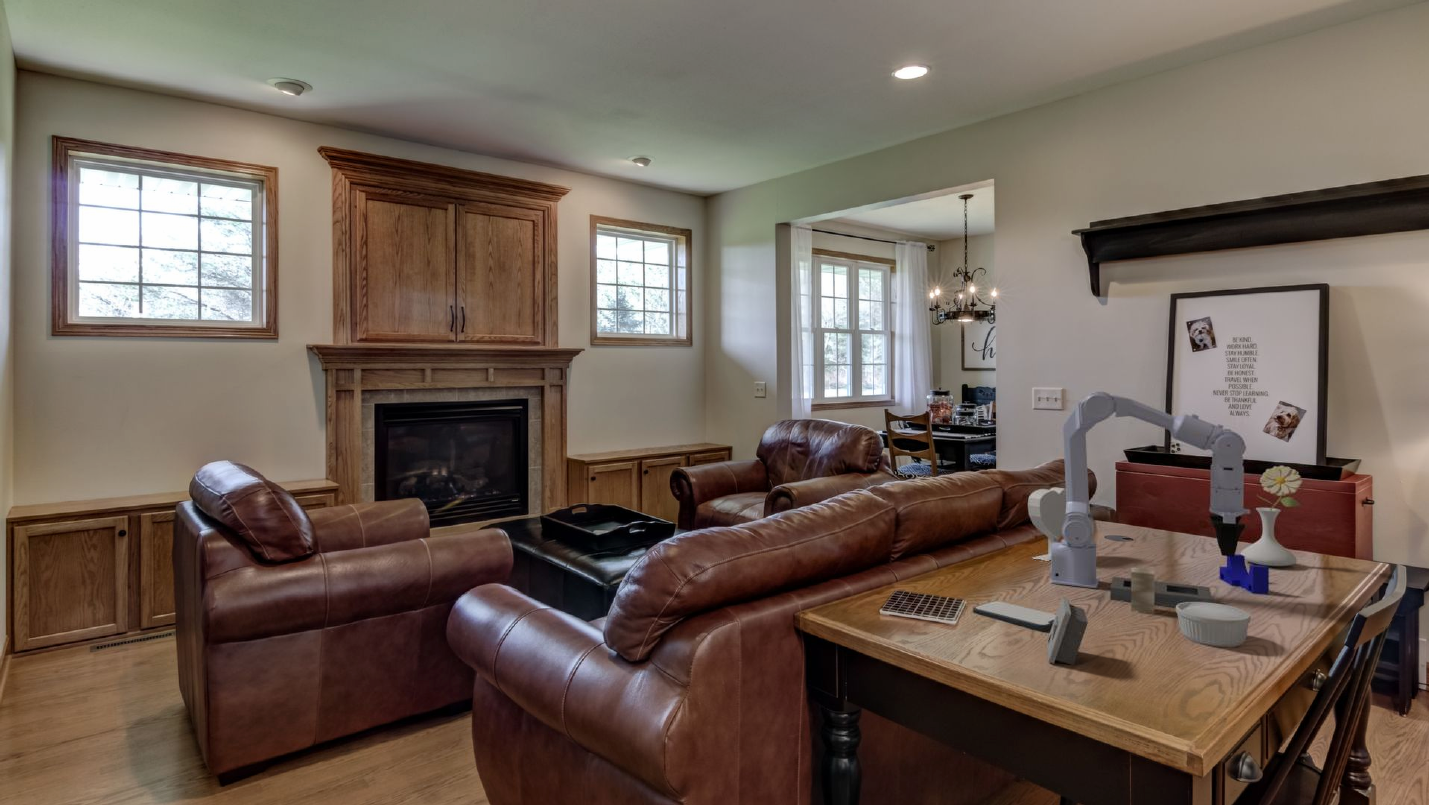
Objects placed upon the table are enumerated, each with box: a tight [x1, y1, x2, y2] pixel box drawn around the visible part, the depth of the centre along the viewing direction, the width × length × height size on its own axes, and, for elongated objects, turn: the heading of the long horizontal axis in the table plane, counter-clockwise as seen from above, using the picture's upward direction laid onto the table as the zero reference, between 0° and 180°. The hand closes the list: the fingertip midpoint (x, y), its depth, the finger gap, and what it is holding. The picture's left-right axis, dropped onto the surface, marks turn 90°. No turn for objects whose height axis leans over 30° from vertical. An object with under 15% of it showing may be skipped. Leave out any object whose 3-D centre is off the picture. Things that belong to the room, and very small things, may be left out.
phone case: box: [972, 600, 1056, 633], centre depth 147 cm, size 9×2×16 cm
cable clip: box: [1219, 553, 1270, 595], centre depth 167 cm, size 12×4×6 cm, turn 168°
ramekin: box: [1175, 602, 1251, 648], centre depth 134 cm, size 11×11×5 cm
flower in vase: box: [1240, 465, 1303, 567], centre depth 185 cm, size 13×11×25 cm
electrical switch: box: [1046, 597, 1089, 666], centre depth 126 cm, size 9×5×9 cm, turn 158°
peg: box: [1130, 567, 1155, 615], centre depth 151 cm, size 4×4×8 cm
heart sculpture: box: [1027, 486, 1067, 561], centre depth 196 cm, size 16×5×18 cm, turn 119°
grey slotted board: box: [1110, 576, 1213, 608], centre depth 158 cm, size 18×10×2 cm, turn 59°
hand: (1226, 552), depth 157 cm, fingers open, 7 cm apart
